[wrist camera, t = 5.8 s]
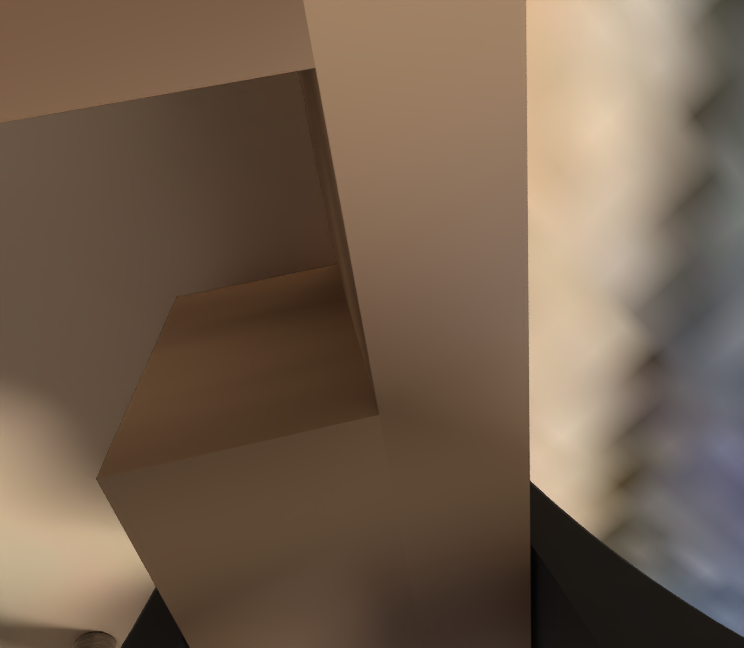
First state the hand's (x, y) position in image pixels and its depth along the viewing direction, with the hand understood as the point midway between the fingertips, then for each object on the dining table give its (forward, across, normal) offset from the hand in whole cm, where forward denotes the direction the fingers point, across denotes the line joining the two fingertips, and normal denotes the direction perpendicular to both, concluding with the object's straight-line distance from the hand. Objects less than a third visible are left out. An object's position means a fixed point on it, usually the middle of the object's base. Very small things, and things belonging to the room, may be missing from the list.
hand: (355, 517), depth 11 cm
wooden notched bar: (+2, 0, 0) cm, 2 cm away
